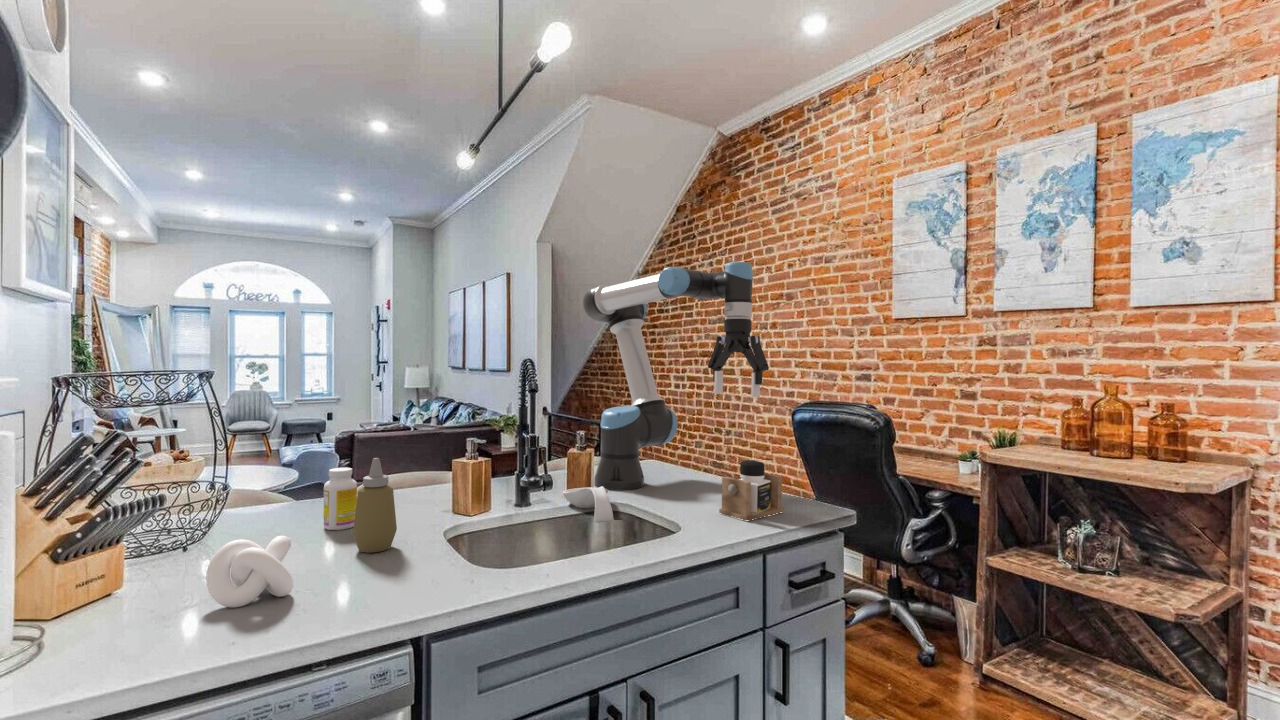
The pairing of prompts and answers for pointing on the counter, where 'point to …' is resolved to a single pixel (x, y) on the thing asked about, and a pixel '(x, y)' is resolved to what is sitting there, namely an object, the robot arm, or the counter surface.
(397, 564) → the counter surface
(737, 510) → the holder
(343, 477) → the supplement bottle
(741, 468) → the medicine bottle
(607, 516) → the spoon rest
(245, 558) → the white knot sculpture
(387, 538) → the squeeze bottle
